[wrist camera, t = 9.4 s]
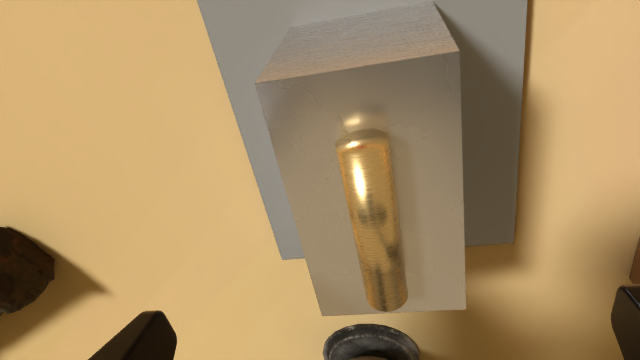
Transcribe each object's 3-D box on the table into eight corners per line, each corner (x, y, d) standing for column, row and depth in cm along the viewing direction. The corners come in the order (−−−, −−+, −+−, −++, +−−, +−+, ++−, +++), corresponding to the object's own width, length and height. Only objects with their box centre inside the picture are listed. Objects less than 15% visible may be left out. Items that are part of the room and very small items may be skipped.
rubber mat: (510, 235, 18) (513, 242, 18) (284, 252, 20) (282, 259, 20) (527, -95, 12) (533, -95, 12) (195, -24, 14) (189, -21, 13)
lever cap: (444, 209, 17) (474, 343, 12) (334, 219, 18) (318, 348, 13) (432, 1, 13) (470, 70, 8) (290, 27, 14) (241, 104, 9)
